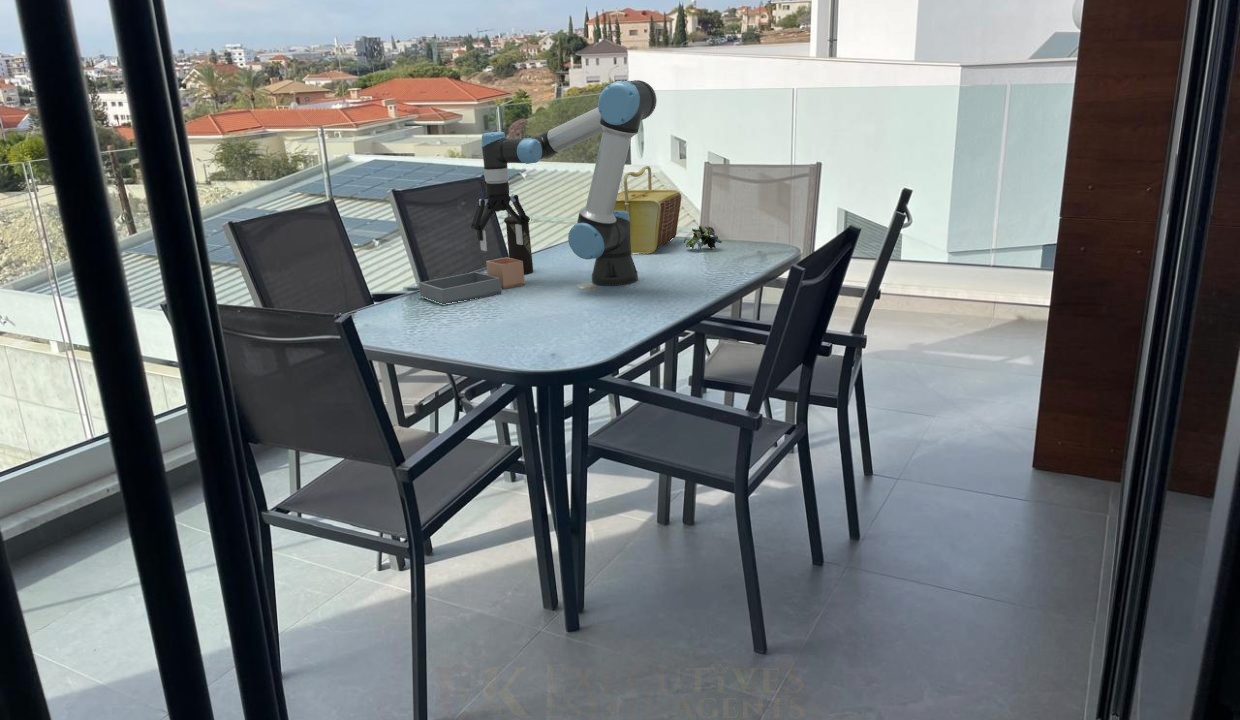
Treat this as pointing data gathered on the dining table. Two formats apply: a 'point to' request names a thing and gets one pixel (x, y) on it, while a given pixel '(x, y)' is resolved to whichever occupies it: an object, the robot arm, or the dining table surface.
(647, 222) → the picnic basket
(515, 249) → the container
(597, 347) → the dining table surface
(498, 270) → the small crate
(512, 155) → the robot arm
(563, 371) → the dining table surface
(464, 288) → the grey tray
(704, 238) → the passion flower
